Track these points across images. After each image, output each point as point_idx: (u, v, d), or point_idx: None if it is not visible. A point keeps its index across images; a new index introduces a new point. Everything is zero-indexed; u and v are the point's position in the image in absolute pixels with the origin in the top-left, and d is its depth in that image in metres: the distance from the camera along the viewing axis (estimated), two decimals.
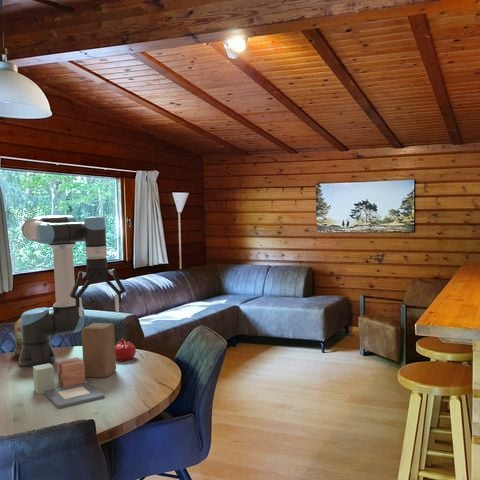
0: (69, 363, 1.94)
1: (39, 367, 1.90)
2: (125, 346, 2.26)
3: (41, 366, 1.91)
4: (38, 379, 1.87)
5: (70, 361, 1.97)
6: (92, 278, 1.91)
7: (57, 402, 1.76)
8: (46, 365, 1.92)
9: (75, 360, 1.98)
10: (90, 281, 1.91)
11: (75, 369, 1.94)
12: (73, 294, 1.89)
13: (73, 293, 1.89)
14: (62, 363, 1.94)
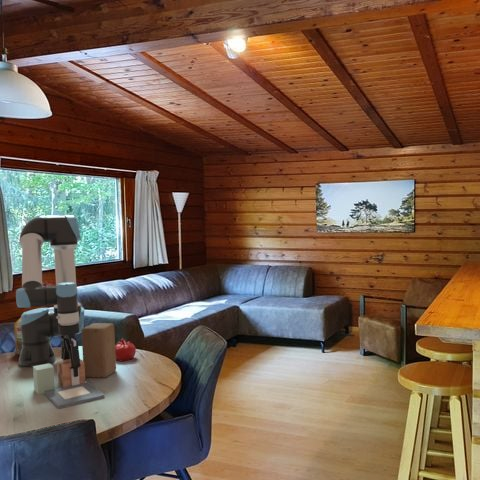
0: (69, 363, 1.94)
1: (39, 367, 1.90)
2: (125, 346, 2.26)
3: (41, 366, 1.91)
4: (38, 379, 1.87)
5: (70, 361, 1.97)
6: (63, 343, 1.97)
7: (57, 402, 1.76)
8: (46, 365, 1.92)
9: None
10: (63, 345, 1.97)
11: None
12: (61, 356, 2.02)
13: (61, 355, 2.02)
14: (62, 363, 1.94)
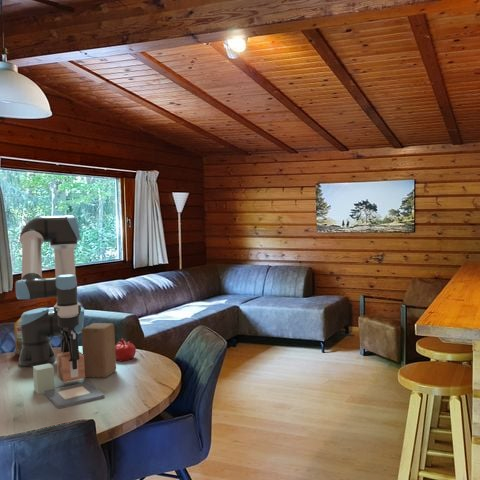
0: (69, 356, 1.94)
1: (39, 367, 1.90)
2: (125, 346, 2.26)
3: (41, 366, 1.91)
4: (38, 379, 1.87)
5: (69, 353, 1.97)
6: (63, 335, 1.97)
7: (57, 402, 1.76)
8: (46, 365, 1.92)
9: None
10: (63, 338, 1.97)
11: None
12: (61, 348, 2.02)
13: (61, 347, 2.02)
14: (62, 356, 1.94)
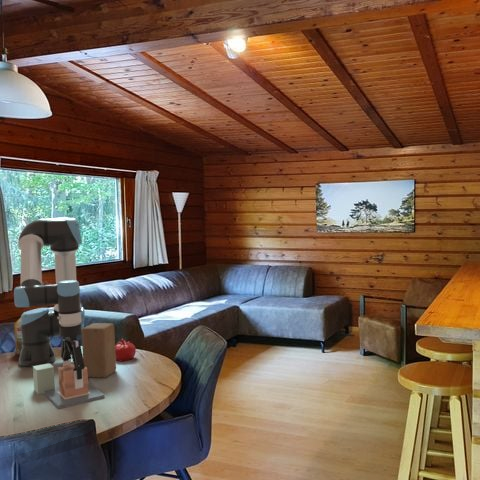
0: (71, 369, 1.82)
1: (39, 367, 1.90)
2: (125, 346, 2.26)
3: (41, 366, 1.91)
4: (38, 379, 1.87)
5: (72, 367, 1.85)
6: (64, 344, 1.84)
7: (57, 402, 1.76)
8: (46, 365, 1.92)
9: None
10: (64, 346, 1.85)
11: None
12: (61, 354, 1.91)
13: (61, 353, 1.91)
14: (64, 369, 1.82)
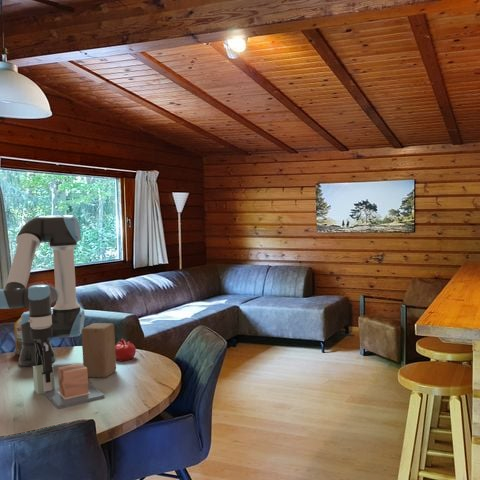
0: (71, 369, 1.82)
1: (39, 367, 1.90)
2: (125, 346, 2.26)
3: (41, 366, 1.91)
4: (38, 379, 1.87)
5: (72, 367, 1.85)
6: (36, 347, 1.91)
7: (57, 402, 1.76)
8: None
9: (78, 366, 1.86)
10: (36, 350, 1.91)
11: (77, 376, 1.81)
12: (35, 361, 1.96)
13: (35, 360, 1.96)
14: (64, 369, 1.82)
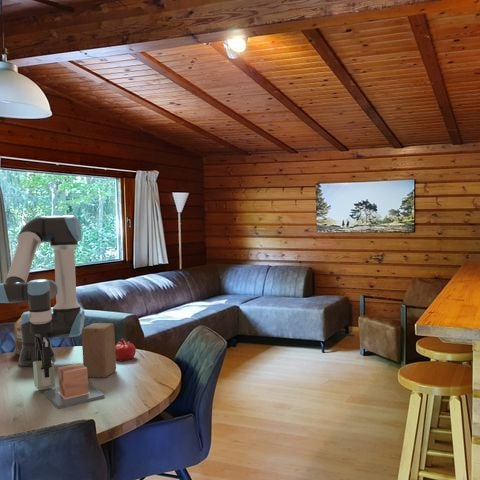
0: (71, 369, 1.82)
1: (39, 363, 1.90)
2: (125, 346, 2.26)
3: (41, 362, 1.91)
4: (38, 375, 1.87)
5: (72, 367, 1.85)
6: (35, 342, 1.91)
7: (57, 402, 1.76)
8: None
9: (78, 366, 1.86)
10: (36, 345, 1.91)
11: (77, 376, 1.81)
12: (35, 357, 1.95)
13: (35, 356, 1.95)
14: (64, 369, 1.82)
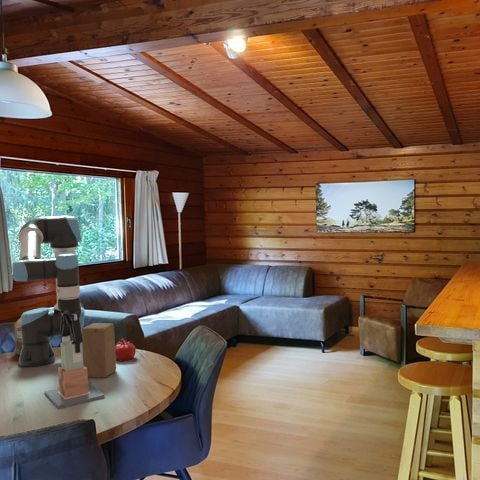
0: None
1: (67, 343, 1.83)
2: (125, 346, 2.26)
3: (69, 342, 1.84)
4: (66, 355, 1.80)
5: None
6: (63, 318, 1.84)
7: (57, 402, 1.76)
8: None
9: None
10: (63, 321, 1.84)
11: (77, 376, 1.81)
12: (60, 330, 1.90)
13: (60, 329, 1.90)
14: None
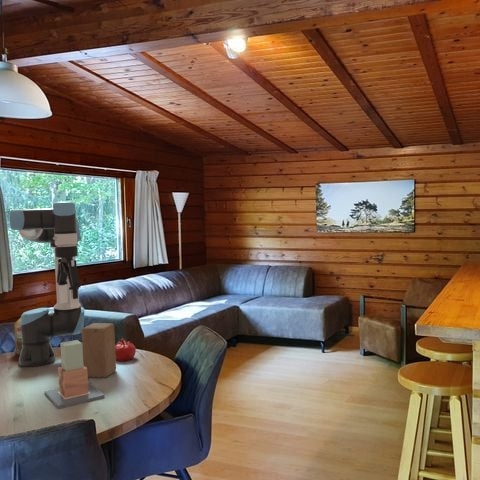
0: None
1: (67, 343, 1.83)
2: (125, 346, 2.26)
3: (69, 342, 1.84)
4: (66, 355, 1.80)
5: None
6: (60, 266, 1.83)
7: (57, 402, 1.76)
8: (74, 341, 1.85)
9: None
10: (60, 269, 1.83)
11: (77, 376, 1.81)
12: (57, 279, 1.89)
13: (57, 278, 1.89)
14: None
